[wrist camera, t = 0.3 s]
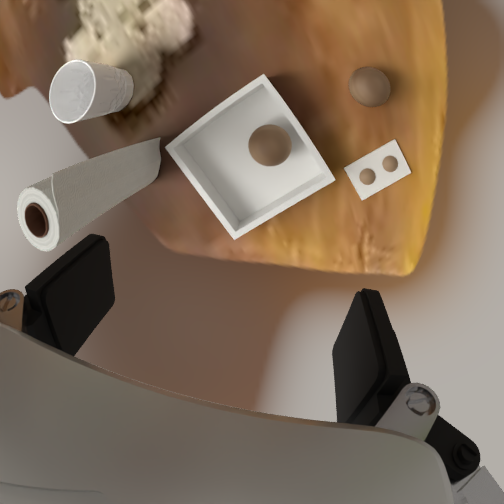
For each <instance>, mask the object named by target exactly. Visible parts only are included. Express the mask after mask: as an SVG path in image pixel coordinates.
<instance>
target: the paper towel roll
mask: <svg viewBox="0 0 504 504" xmlns="http://www.w3.org/2000/svg"><path fill="white" fill-rule="evenodd" d="M160 139H161V137H159V138H155V139H152V140H148V141H145V142H141V143H138V144H134V145H131V146H128V147H125V148H121V149H118V150H115V151H112V152H109V153H106V154H103V155H100V156H97V157H95V158H92V159H89V160H86V161H84V162H81V163H78V164H76V165H73V166H71V167H68V168H65V169H63V170H60V171H58V172H55V173H53V174H52V177H49V178H47V179H45V180H42V181H40V182H38V183H36V184H34V185H31V186H30V187H27V188H26V189H25V190H24V191H23V192H22V193H21V194H20V196H19V200H18V203H17V215H18V219H19V223H20V227H21V229H22V231H23V233H24V235H25V236H26V238H27V239H28V240H29V242H30V243H31V244H32V245H33V246H34V247H36V248H38V249H39V250H42V251H51V250H52V249H53V248H55V247H57V246H58V245H59V244H60V243H62V242H63V241H65V240H66V239H67V238H69V237H70V236H71V235H73V234H74V233H75V232H77V231H78V230H80V229H81V228H82V227H84V226H85V225H87V224H88V223H90V222H91V221H93V220H94V219H96V218H97V217H99V216H100V215H101V214H103V213H104V212H106V211H107V210H109V209H110V208H112V207H113V206H115V205H116V204H118V203H120V202H121V201H123V200H124V199H126V198H128V197H129V196H131V195H132V194H134V193H136V192H137V191H139V190H140V189H142V188H144V187H145V186H147V185H149V184H150V183H152V182H153V181H154V180H155V179H156V177H157V176H158V172H159V168H160V162H161V155H160V150H159V143H160Z"/></svg>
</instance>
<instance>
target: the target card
mask: <svg viewBox="0 0 504 504" xmlns="http://www.w3.org/2000/svg"><path fill="white" fill-rule="evenodd" d="M344 170H345V171H346V173H347V175H348V177H349V178H350V180H351V182H352V184H353V185H354V187H355V189H356V191H357V193H358V194H359V196H360V198H361V200H364V199H366V198H368V197H369V196H371V195H373V194H375V193H376V192H378V191H380V190H382V189H383V188H385V187H387V186H389V185H390V184H392V183H394V182H396V181H398V180H399V179H401V178H403V177H405V176H406V175H408V174H410V173H411V171H410V169H409V167H408V165H407V163H406V160H405V158H404V156H403V154H402V152H401V150H400V148H399V146H398V144H397V142H396V140H395V139H394V140H392V141H390V142H388V143H386V144H385V145H383V146H381V147H379V148H378V149H376V150H374V151H372V152H370V153H369V154H367V155H365V156H363V157H362V158H360V159H358V160H356V161H355V162H353V163H351V164H349V165H348V166H346V167H344Z"/></svg>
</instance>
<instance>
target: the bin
mask: <svg viewBox="0 0 504 504" xmlns="http://www.w3.org/2000/svg"><path fill="white" fill-rule="evenodd" d="M268 124H272V125H277V126H279V127H281V128H283V129H284V130H285V131H286V132H287V133H288V135H289V136H290V139H291V142H292V149H291V153H290V155H289V157H288V158H287V159H286V160H285V161H284V162H283V163H281V164H280V165H277V166H264V165H261V164H259V163H258V162H256V161H255V160H254V159H253V158H252V156H251V154H250V152H249V148H248V142H249V138H250V136H251V134H252V133H253V132H254V131H255V130H256V129H257V128H258V127H260V126H263V125H268ZM165 148H166V150H167V151H168V152H169V154H170V155H171V156H172V158H173V159H174V160H175V162H176V163H177V164H178V166H179V167H180V168H181V170H182V171H183V172H184V174H185V175H186V176H187V178H188V179H189V180H190V182H191V183H192V184H193V186H194V187H195V188H196V190H197V191H198V192H199V194H200V195H201V196H202V198H203V199H204V200H205V202H206V203H207V204H208V206H209V207H210V208H211V210H212V211H213V212H214V214H215V215H216V216H217V218H218V219H219V220H220V222H221V223H222V224H223V226H224V227H225V228H226V230H227V231H228V232H229V234H230V235H231V236H232V238H233V239H234V240H235V239H237V238H238V237H240V236H242V235H243V234H245V233H247V232H248V231H250V230H252V229H253V228H255V227H257V226H258V225H260V224H262V223H263V222H265V221H267V220H268V219H270V218H272V217H273V216H275V215H277V214H278V213H280V212H282V211H284V210H285V209H287V208H289V207H290V206H292V205H294V204H295V203H297V202H299V201H301V200H302V199H304V198H306V197H307V196H309V195H311V194H313V193H314V192H316V191H318V190H319V189H321V188H323V187H325V186H326V185H328V184H330V183H332V182H333V181H335V178H334V176H333V175H332V173H331V171H330V170H329V168H328V166H327V165H326V163H325V161H324V160H323V158H322V157H321V155H320V153H319V152H318V150H317V149H316V147H315V146H314V144H313V143H312V141H311V140H310V138H309V136H308V135H307V133H306V132H305V130H304V129H303V127H302V126H301V124H300V123H299V122H298V120H297V119H296V117H295V116H294V114H293V113H292V111H291V110H290V109H289V107H288V106H287V104H286V103H285V102H284V100H283V99H282V97H281V96H280V95H279V93H278V92H277V91H276V89H275V88H274V87H273V85H272V84H271V83H270V81H269V80H268V79H267V77H266V76H265V75H264V74H263V75H261V76H260V77H258V78H257V79H255V80H254V81H252V82H251V83H249V84H248V85H246V86H245V87H243V88H242V89H240V90H239V91H237V92H236V93H235V94H233V95H232V96H230V97H229V98H227V99H226V100H225V101H223V102H222V103H220V104H219V105H218V106H216V107H215V108H214V109H212V110H211V111H210V112H208V113H207V114H206V115H204V116H203V117H202V118H200V119H199V120H198V121H196V122H195V123H194V124H193V125H191V126H190V127H189V128H188V129H186V130H185V131H184V132H183V133H181V134H180V135H179V136H178V137H177V138H175V139H174V140H173V141H172V142H171V143H169V144H168V145H167V146H166V147H165Z"/></svg>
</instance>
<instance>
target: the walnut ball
mask: <svg viewBox="0 0 504 504" xmlns="http://www.w3.org/2000/svg"><path fill="white" fill-rule="evenodd" d="M349 90H350V93H351V95H352V97H353V98H354V99H355V100H356V101H357V102H358V103H360V104H361V105H364V106H367V107H377V106H380V105H382V104H383V103H385V102H386V101H387V99H388V98H389V95H390V83H389V80H388V79H387V77H386V76H385V75H384V74H383V73H382V72H381V71H380V70H378V69H376V68H372V67H362V68H359V69H357V70H356V71H354V72H353V74H352V75H351V77H350V79H349Z"/></svg>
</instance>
